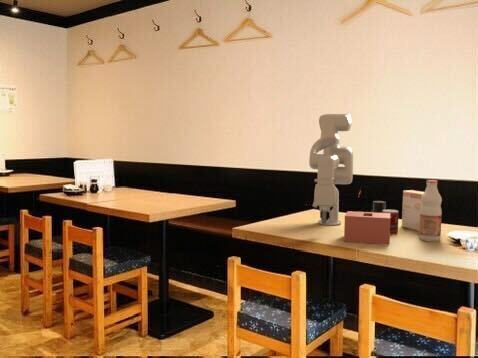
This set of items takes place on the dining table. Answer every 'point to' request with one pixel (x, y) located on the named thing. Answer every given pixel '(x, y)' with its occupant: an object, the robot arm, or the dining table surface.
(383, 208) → the ink bottle
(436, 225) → the fruit juice
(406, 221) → the coffeecake box
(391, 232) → the canned food
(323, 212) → the block
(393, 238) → the dining table surface
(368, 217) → the box
